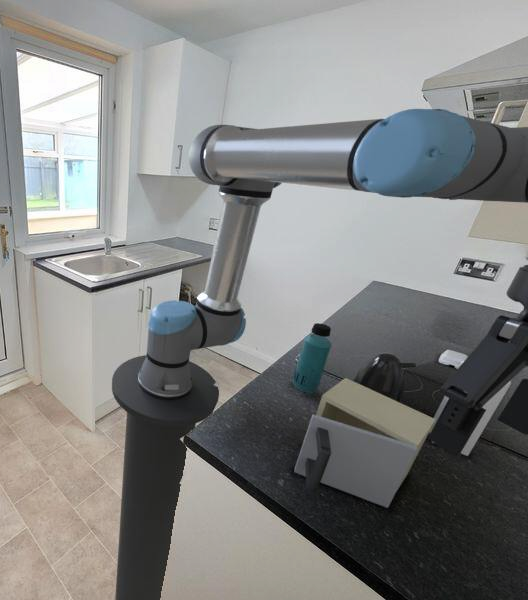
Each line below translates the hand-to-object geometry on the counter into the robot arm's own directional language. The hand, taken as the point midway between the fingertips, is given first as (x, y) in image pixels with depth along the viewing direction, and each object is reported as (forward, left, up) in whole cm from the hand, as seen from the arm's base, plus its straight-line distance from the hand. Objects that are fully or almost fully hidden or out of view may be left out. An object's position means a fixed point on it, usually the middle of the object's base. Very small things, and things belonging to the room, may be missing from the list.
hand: (479, 436), depth 38 cm
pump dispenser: (-17, +40, -25) cm, 50 cm away
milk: (-2, +40, -25) cm, 47 cm away
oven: (-12, +15, -25) cm, 31 cm away
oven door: (-10, +2, -25) cm, 27 cm away
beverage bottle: (-30, +30, -25) cm, 49 cm away
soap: (-12, +90, -25) cm, 94 cm away
